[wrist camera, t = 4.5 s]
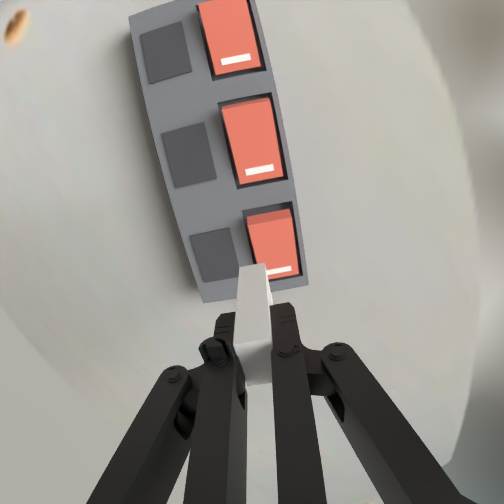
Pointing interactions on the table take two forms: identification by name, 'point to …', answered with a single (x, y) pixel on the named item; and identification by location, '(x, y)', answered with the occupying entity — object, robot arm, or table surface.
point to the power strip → (209, 145)
